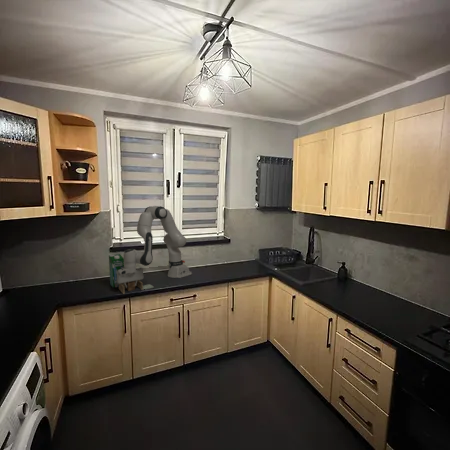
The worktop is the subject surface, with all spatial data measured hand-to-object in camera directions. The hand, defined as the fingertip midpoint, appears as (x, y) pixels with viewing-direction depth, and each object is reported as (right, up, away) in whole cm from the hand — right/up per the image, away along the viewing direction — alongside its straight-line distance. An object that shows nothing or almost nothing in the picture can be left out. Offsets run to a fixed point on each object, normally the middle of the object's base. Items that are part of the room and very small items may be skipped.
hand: (130, 286), depth 201 cm
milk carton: (-15, -1, +10) cm, 18 cm away
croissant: (0, -2, 0) cm, 2 cm away
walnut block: (0, -2, 0) cm, 2 cm away
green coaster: (+11, -2, +5) cm, 13 cm away
